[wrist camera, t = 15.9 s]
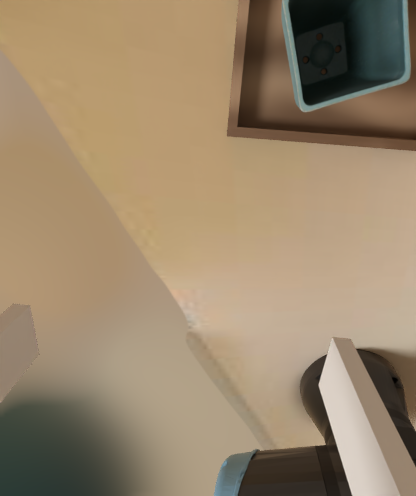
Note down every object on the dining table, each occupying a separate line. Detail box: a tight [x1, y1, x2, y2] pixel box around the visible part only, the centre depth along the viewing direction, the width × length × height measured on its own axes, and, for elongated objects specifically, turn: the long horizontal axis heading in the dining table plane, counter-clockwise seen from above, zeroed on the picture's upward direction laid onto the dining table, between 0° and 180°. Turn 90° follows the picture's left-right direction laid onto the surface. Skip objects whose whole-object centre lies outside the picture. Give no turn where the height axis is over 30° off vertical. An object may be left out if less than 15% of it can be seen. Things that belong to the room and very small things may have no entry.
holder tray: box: [227, 0, 416, 151], centre depth 32 cm, size 16×22×4 cm
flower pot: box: [281, 0, 411, 112], centre depth 28 cm, size 9×9×9 cm
